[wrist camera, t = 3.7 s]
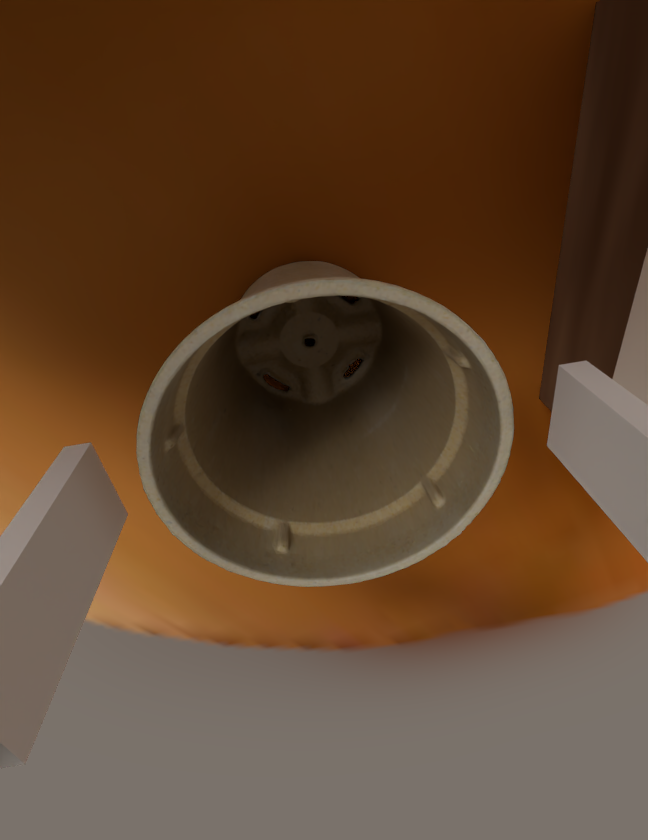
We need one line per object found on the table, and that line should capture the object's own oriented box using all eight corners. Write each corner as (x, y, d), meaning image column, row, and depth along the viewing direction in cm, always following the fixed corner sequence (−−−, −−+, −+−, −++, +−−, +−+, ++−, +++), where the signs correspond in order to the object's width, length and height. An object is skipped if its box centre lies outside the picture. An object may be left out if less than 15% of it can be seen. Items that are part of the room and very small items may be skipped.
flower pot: (458, 244, 17) (590, 329, 10) (385, 444, 22) (437, 599, 15) (205, 183, 15) (138, 232, 8) (185, 415, 20) (133, 575, 13)
